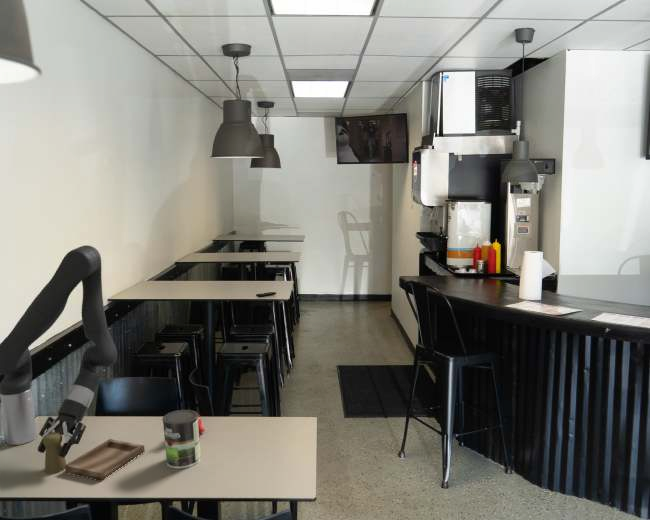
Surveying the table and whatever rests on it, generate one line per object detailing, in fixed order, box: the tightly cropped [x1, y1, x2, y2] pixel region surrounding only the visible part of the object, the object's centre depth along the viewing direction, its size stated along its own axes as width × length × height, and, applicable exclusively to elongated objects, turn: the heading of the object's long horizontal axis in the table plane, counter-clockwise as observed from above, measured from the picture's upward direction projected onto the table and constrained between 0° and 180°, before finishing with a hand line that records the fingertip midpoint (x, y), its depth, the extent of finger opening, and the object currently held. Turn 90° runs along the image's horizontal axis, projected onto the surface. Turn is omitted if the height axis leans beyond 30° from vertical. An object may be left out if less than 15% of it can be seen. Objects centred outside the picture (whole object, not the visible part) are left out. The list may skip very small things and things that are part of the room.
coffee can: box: [161, 409, 202, 470], centre depth 177 cm, size 10×10×14 cm
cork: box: [43, 432, 67, 475], centre depth 175 cm, size 6×6×11 cm
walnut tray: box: [64, 438, 145, 482], centre depth 178 cm, size 14×18×2 cm
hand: (50, 454), depth 174 cm, fingers open, 8 cm apart
